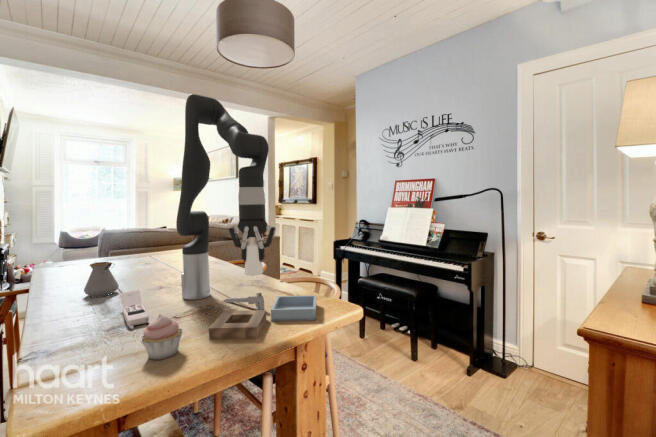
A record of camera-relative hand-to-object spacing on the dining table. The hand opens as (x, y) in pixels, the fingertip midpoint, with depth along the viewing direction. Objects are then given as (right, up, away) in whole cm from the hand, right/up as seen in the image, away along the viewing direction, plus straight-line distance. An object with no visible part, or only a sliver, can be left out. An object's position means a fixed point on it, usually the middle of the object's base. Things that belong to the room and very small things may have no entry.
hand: (253, 260), depth 93 cm
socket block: (-4, -19, -2) cm, 20 cm away
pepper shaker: (0, -4, 0) cm, 4 cm away
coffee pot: (-66, -19, +31) cm, 75 cm away
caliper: (-8, -19, +18) cm, 27 cm away
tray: (+11, -18, +10) cm, 24 cm away
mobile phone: (-41, -20, +10) cm, 47 cm away
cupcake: (-18, -21, -16) cm, 32 cm away
